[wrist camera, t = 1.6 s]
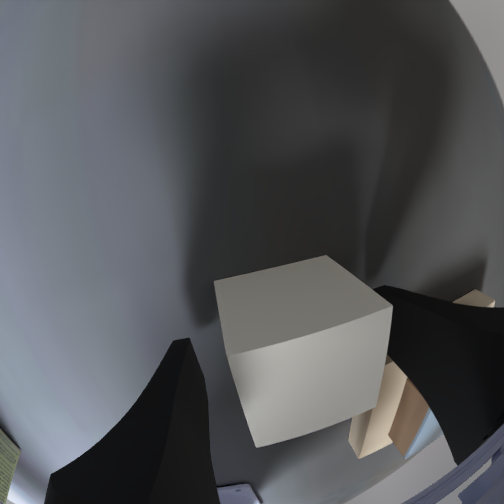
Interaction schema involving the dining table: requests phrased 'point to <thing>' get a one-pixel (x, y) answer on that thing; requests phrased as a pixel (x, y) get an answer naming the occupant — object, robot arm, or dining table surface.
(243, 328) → the cream cube
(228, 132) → the dining table surface
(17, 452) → the box
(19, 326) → the dining table surface
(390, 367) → the base
